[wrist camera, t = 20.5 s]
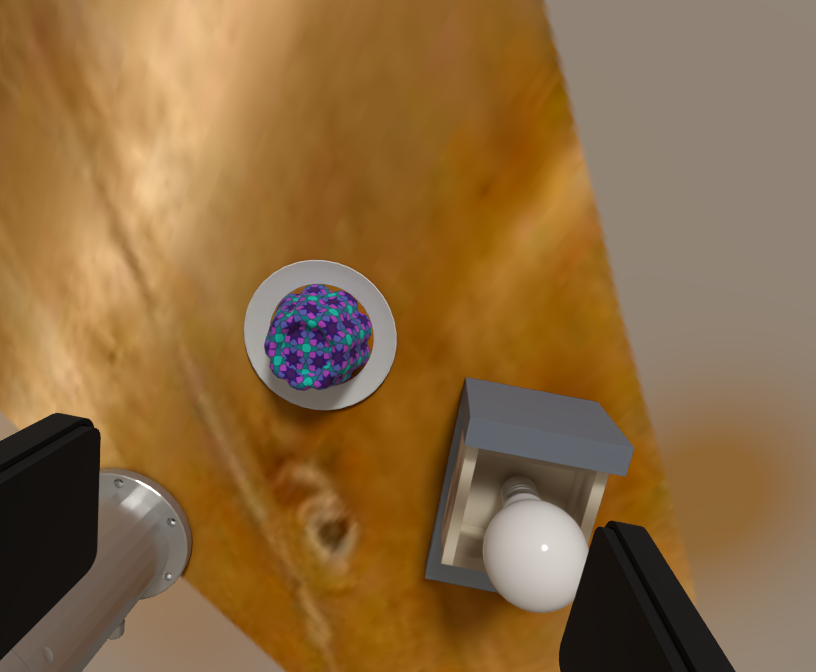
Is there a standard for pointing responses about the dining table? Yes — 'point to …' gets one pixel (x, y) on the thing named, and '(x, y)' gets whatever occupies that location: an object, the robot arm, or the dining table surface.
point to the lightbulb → (533, 550)
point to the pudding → (319, 335)
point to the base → (526, 446)
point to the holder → (481, 498)
